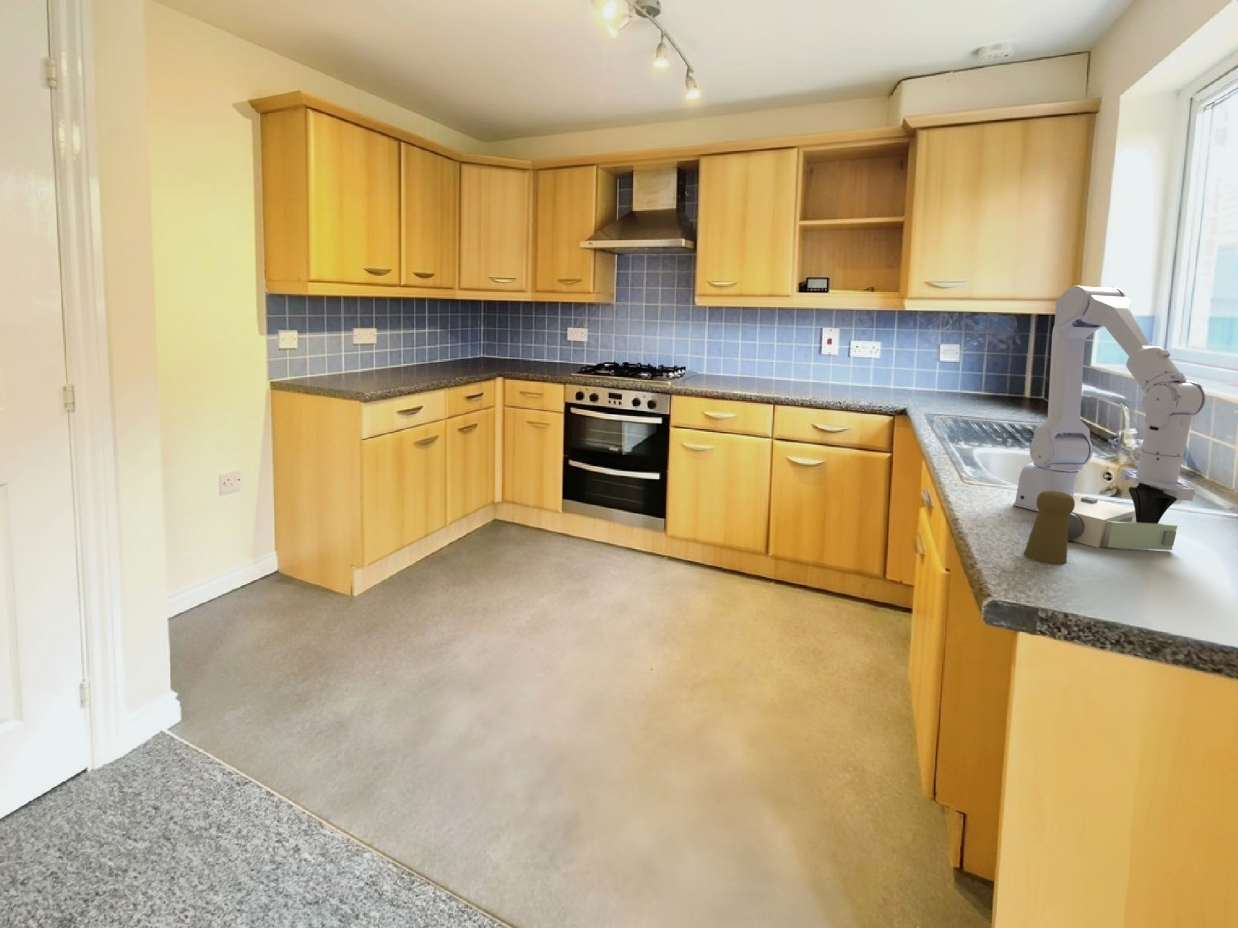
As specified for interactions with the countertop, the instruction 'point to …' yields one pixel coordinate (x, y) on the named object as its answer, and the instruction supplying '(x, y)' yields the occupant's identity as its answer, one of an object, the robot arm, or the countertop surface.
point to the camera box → (1095, 519)
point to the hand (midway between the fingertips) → (1145, 529)
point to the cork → (1050, 528)
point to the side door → (1139, 535)
